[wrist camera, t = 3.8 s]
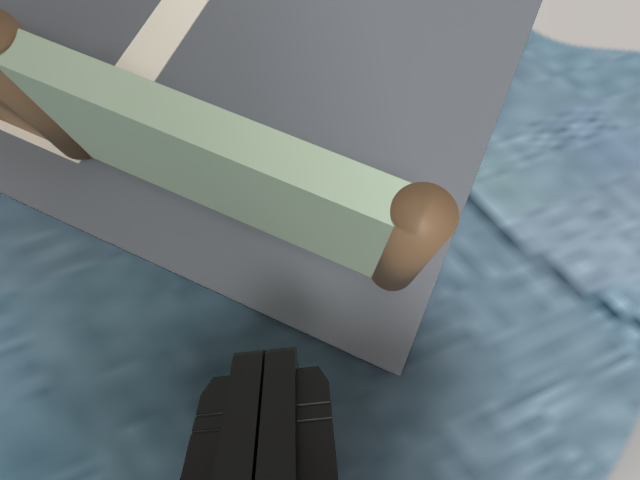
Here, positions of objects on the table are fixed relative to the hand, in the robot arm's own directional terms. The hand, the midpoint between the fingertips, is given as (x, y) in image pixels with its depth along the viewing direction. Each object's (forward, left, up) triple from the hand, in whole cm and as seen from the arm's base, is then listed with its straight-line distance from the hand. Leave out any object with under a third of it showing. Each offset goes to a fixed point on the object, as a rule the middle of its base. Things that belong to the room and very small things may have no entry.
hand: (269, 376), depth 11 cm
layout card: (+13, +12, -8) cm, 20 cm away
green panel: (+6, +6, -7) cm, 11 cm away
